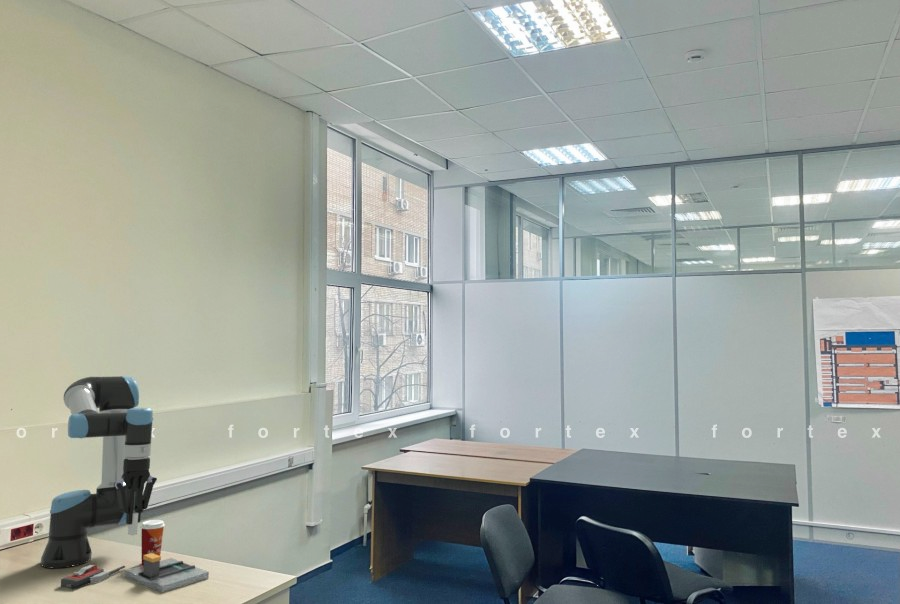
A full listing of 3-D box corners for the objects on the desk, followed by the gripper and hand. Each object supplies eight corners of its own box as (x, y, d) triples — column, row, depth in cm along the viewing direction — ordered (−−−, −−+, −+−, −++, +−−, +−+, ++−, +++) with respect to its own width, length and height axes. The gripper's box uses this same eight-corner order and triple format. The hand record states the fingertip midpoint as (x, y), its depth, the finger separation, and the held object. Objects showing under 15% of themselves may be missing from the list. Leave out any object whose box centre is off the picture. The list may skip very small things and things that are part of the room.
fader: (142, 574, 199) (143, 555, 200) (150, 572, 202) (151, 553, 202) (151, 578, 196) (152, 558, 197) (159, 575, 199) (160, 556, 199)
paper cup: (152, 568, 212) (155, 525, 213) (133, 565, 213) (135, 524, 214) (167, 560, 219) (170, 520, 221) (148, 558, 221) (151, 518, 222)
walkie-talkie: (78, 593, 190) (127, 571, 209) (79, 578, 190) (128, 557, 210) (55, 589, 192) (105, 568, 211) (56, 575, 192) (106, 555, 212)
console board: (125, 576, 203) (125, 568, 203) (171, 563, 216) (171, 556, 216) (161, 592, 190) (162, 583, 191) (208, 578, 203) (208, 569, 204)
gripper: (122, 461, 189) (117, 541, 187) (163, 456, 200) (158, 531, 197) (110, 458, 193) (105, 536, 191) (150, 453, 204) (146, 527, 202)
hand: (132, 534), depth 194 cm, fingers closed
